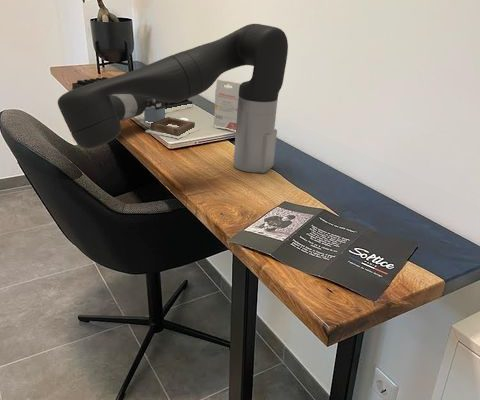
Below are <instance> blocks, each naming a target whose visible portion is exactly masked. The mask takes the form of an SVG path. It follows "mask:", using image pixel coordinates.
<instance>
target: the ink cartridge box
mask: <svg viewBox="0 0 480 400" xmlns="http://www.w3.org/2000/svg"><path fill="white" fill-rule="evenodd" d="M240 84H241V83H239V82H234V81H229V80H223V79H216V86H215V87H216V88H215V94H214V97H215V98H214V115H213V126H214V125H216V126H220V127H225V128H229V129H233V130H236V123H237V110H238V97H239V87H240ZM227 86H231V87H227Z"/></svg>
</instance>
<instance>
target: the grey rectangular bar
mask: <svg viewBox="0 0 480 400" xmlns="http://www.w3.org/2000/svg"><path fill="white" fill-rule="evenodd" d="M152 101H153V102H154V99H152ZM143 113H144V114H143V116H144V117H143V118H144V121H148V122H156V121H159V120H161V119H164V118H166V113H165V108H162V109H159V110H156V109H155V107H152V108H148V109H145V110H144V112H143ZM144 121H143V122H144Z"/></svg>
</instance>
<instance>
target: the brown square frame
mask: <svg viewBox="0 0 480 400" xmlns="http://www.w3.org/2000/svg"><path fill="white" fill-rule="evenodd" d="M168 124H172V125H177V126H179V127H172V126H167V125H168ZM194 127H195V128H196V123H195V122H194V121H191V120H186V119H185V120H184V119H182V118H175V117H170V116H167V117H166V116H165V118H164V119H161V120H159V121H156V122H153V123H151V124H150V129H151V130H152V131H156V132H161V133H166V134H170V135H174V136H180V135H181V134H183V133H185V132H186V131H188V130H190V129H192V128H194Z"/></svg>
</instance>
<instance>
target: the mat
mask: <svg viewBox="0 0 480 400" xmlns="http://www.w3.org/2000/svg"><path fill="white" fill-rule="evenodd" d="M144 132H145V133H148V134H152V135H157V136H160V135H165V134H163V133H161V132H156V131H152V130H151V128H149V129H146V130H145V131H144ZM158 134H159V135H158ZM166 136H170V137H173V138H172V139H174V138H177V139H176V140H180V139H179V138H180V137H179V136H174V135H167V134H166Z"/></svg>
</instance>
